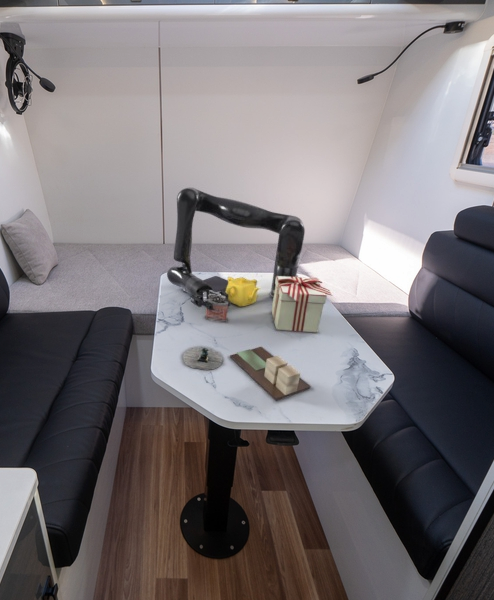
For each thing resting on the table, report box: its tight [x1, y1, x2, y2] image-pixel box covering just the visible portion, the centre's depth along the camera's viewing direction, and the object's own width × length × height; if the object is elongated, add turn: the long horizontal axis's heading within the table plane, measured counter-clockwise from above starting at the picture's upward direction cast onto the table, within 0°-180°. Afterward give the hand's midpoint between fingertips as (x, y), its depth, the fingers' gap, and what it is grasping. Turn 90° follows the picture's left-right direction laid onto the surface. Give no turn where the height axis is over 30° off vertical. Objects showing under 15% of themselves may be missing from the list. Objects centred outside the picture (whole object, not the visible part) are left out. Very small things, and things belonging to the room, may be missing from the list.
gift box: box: [271, 276, 333, 334], centre depth 132 cm, size 17×18×17 cm
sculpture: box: [182, 346, 224, 371], centre depth 115 cm, size 12×9×8 cm
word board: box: [229, 346, 312, 401], centre depth 108 cm, size 12×22×7 cm, turn 26°
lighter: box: [205, 294, 229, 323], centre depth 136 cm, size 8×3×10 cm, turn 71°
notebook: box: [182, 275, 228, 295], centre depth 162 cm, size 13×2×21 cm
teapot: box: [225, 276, 261, 307], centre depth 149 cm, size 14×13×10 cm
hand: (220, 306), depth 133 cm, fingers closed on lighter, 6 cm apart
